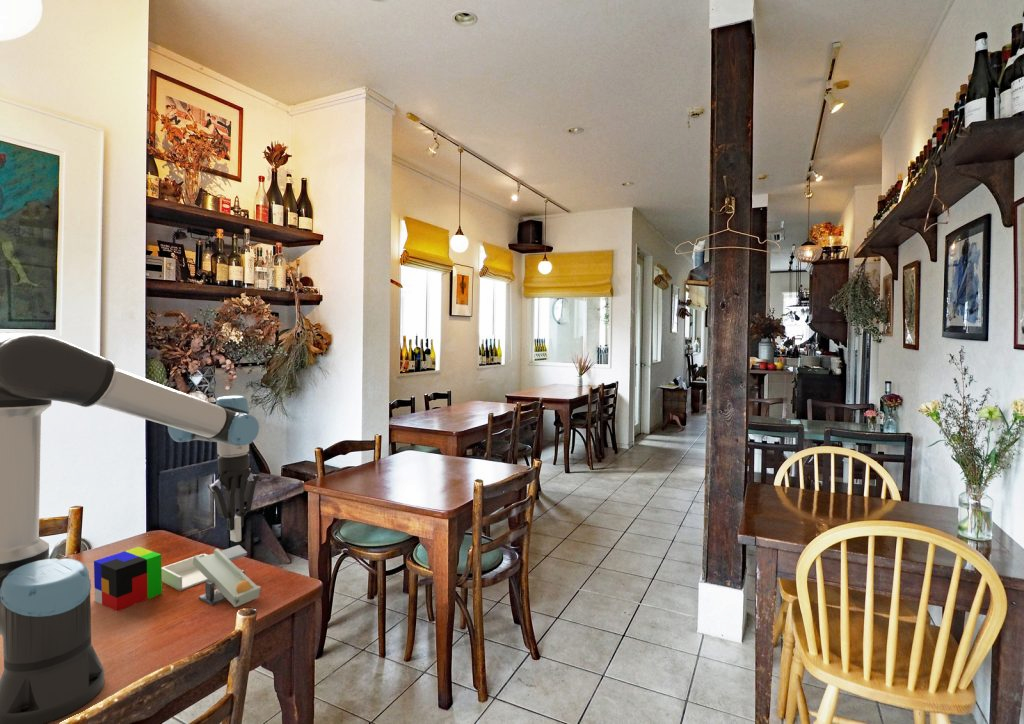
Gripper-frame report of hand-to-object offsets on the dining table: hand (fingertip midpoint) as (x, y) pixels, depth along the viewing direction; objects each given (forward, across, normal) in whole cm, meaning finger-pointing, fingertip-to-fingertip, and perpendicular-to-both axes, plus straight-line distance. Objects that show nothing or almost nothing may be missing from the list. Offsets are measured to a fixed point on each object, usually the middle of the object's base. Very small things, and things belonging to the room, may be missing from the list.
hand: (235, 540), depth 142 cm
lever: (+6, -4, -8) cm, 11 cm away
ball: (+6, -7, -16) cm, 18 cm away
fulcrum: (+9, -8, -8) cm, 15 cm away
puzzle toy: (+10, -22, +10) cm, 26 cm away
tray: (+9, -8, +8) cm, 14 cm away
